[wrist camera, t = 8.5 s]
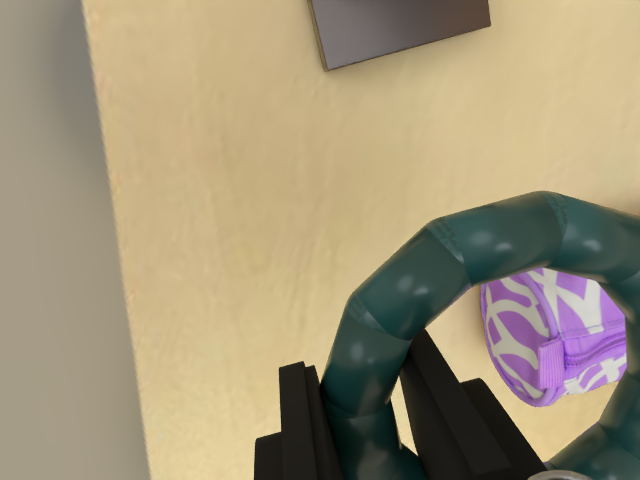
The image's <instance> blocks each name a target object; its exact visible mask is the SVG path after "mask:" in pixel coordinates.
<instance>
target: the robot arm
mask: <svg viewBox="0 0 640 480" xmlns="http://www.w3.org/2000/svg"><path fill="white" fill-rule="evenodd" d="M399 377H400V381H401V386H402V390H403V395H404V399H405V404H406V409H407V413H408V418H409V422H410V427H411V431H412V436H413V440H414V444H415V447H416V451H417V454H418V456H419V458H420V460H421V462H422V464H423V467H424V470H425V473H426V476H427V479H428V480H594V479H592V478H590V477H589V476H586V475H583V474H579V473H576V472H573V471H565V470H551V471H548V469H547V468H546V467H545V465H544V464H543V462H542V461H541V460H540V458H539V457H538V456H537V454H536V453H535V451H534V450H533V449H532V447H531V446H530V444H529V443H528V442H527V440H526V439H525V437H524V436H523V435H522V433H521V432H520V430H519V429H518V428H517V426H516V425H515V424H514V422H513V421H512V419H511V418H510V417H509V415H508V414H507V412H506V411H505V410H504V408H503V407H502V405H501V404H500V403H499V401H498V400H497V399H496V397H495V396H494V394H493V393H492V392H491V390H490V389H489V387H488V386H487V385H486V383H485V382H484V381H483V380H482V379H480V378H476V379H473V380H469V381H465V382H462V383H459V381H458V380H457V378H456V376H455V375H454V373H453V372H452V370H451V369H450V367H449V365H448V364H447V362H446V361H445V359H444V358H443V356H442V354H441V353H440V351H439V350H438V348H437V347H436V345H435V343H434V342H433V340H432V339H431V337H430V335H429V334H428V332H427V331H426V330H425V329H423V330H422V331H421V332H420V333H419V334H418V335H417V336H415V337H414V338H413V339H412V342H411V344H410V347H409V350H408V352H407V355H406V358H405V360H404V362H403V366H402V368H401V371H400V374H399ZM279 387H280V411H281V432H278V433H275V434H271V435H267V436H263V437H260V438H257V439H256V442H255V461H254V480H345V479H344V476H343V472H342V469H341V465H340V462H339V459H338V455H337V452H336V448H335V445H334V441H333V438H332V434H331V431H330V428H329V424H328V421H327V417H326V414H325V410H324V407H323V403H322V398H321V394H320V388H319V387H320V383H319V379H318V376H317V372H316V369H315V366H314V365H313V366H309V367H305V364H304V362H303V361H302V362H298V363H294V364H290V365H287V366H283V367H280V368H279Z"/></svg>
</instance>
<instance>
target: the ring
mask: <svg viewBox="0 0 640 480" xmlns="http://www.w3.org/2000/svg"><path fill="white" fill-rule="evenodd" d="M539 268H546V269H550V270H554V271H558V272H562V273H566V274H570V275H574V276H578V277H582V278H586V279H590V280H594V281H596V282H597V283H598V284H599V285H600V286H601V288H602V289H603V290H604V291H605V293H606V294H607V295H608V296H609V297H610V299H611V300H612V301H613V302H614V303H615V305H616V306H617V307H618V308H619V309H620V311H621V312H622V313H623V314H624V316H625V337H626V360H627V367H626V369H625V371H624V373H623V375H622V377H621V379H620V381H619V383H618V385H617V387H616V389H615V390H614V392H613V394H612V396H611V398H610V400H609V402H608V404H607V406H606V408H605V410H604V412H603V413H602V415H601V417H600V419H599V421H598V422H596V423H595V424H594V425H593V426H591V427H590V428H589V429H588V430H586V431H585V432H584V433H583V434H581V435H580V436H579V437H578V438H576V439H575V440H574V441H573V442H571V443H570V444H569V445H567V446H566V447H565V448H564V449H562V450H561V451H560V452H559V453H557V454H556V455H555V456H554V457H552V458H551V459H550V460H549V461H547V462H543V464H544V465H545V467H546V468H547V469H548V471H551V470H565V471H573V472H576V473H579V474H583V475H586V476H589V477H590V478H592V479H594V480H640V217H638V216H635V215H632V214H628V213H625V212H621V211H618V210H614V209H611V208H607V207H604V206H600V205H597V204H593V203H590V202H586V201H583V200H579V199H576V198H572V197H569V196H565V195H562V194H558V193H554V192H549V191H536V192H531V193H527V194H523V195H520V196H516V197H512V198H509V199H505V200H502V201H498V202H494V203H491V204H487V205H483V206H480V207H476V208H472V209H469V210H465V211H461V212H458V213H454V214H450V215H447V216H443V217H439V218H436V219H434V220H432V221H430V222H429V223H427V224H426V225H425V226H424V227H423V228H421V229H420V230H419V231H418V232H417V233H416V234H415V235H414V236H413V237H412V238H411V239H410V240H408V241H407V242H406V243H405V244H404V245H403V246H402V247H401V248H400V249H399V250H398V251H397V252H396V253H394V254H393V255H392V256H391V257H390V258H389V259H388V260H387V261H386V262H385V263H384V264H383V265H381V266H380V267H379V268H378V269H377V270H376V271H375V272H374V273H373V274H372V275H371V276H370V277H368V278H367V279H366V280H365V281H364V282H363V283H362V284H361V285H360V286H359V287H358V288H357V289H356V290H355V291H354V292H353V293H352V294H351V295H350V297H349V299H348V301H347V303H346V306H345V309H344V312H343V315H342V318H341V321H340V324H339V327H338V330H337V333H336V336H335V340H334V343H333V346H332V349H331V352H330V355H329V358H328V361H327V364H326V367H325V370H324V373H323V377H322V380H321V383H320V387H319V388H320V394H321V398H322V403H323V407H324V410H325V414H326V417H327V421H328V424H329V428H330V431H331V434H332V438H333V441H334V445H335V448H336V452H337V455H338V459H339V462H340V465H341V469H342V472H343V476H344V479H345V480H428V479H427V476H426V473H425V470H424V467H423V464H422V462H421V460H420V458H419V457H418V456H417V455H416V454H415V453H414V452H412V451H411V450H410V449H409V448H408V447H406V446H405V445H404V444H403V443H402V442H401V440H400V436H399V432H398V428H397V423H396V419H395V415H394V411H393V407H392V403H391V395H392V392H393V390H394V387H395V384H396V382H397V379H398V376H399V374H400V371H401V368H402V366H403V362H404V360H405V358H406V355H407V352H408V350H409V347H410V344H411V342H412V339H413V338H414V337H415V336H417V335H418V334H419V333H420V332H421V331H422V330H423V329H424V328H426V327H427V326H428V325H429V324H430V323H431V322H432V321H433V320H435V319H436V318H437V317H438V316H439V315H440V314H441V313H443V312H444V311H445V310H446V309H447V308H448V307H449V306H450V305H452V304H453V303H454V302H455V301H456V300H457V299H458V298H459V297H461V296H462V295H463V294H464V293H465V292H466V291H467V290H469V289H470V288H471V287H474V286H478V285H482V284H485V283H489V282H492V281H496V280H500V279H503V278H507V277H510V276H514V275H518V274H521V273H525V272H528V271H532V270H536V269H539Z"/></svg>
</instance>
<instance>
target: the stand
mask: <svg viewBox="0 0 640 480" xmlns="http://www.w3.org/2000/svg"><path fill="white" fill-rule="evenodd" d="M307 2H308V6H309V10H310V14H311V18H312V23H313V27H314V31H315V35H316V39H317V43H318V48H319V52H320V56H321V60H322V64H323V68H324V71H329V70H333V69H336V68H340V67H344V66H347V65H351V64H355V63H358V62H362V61H366V60H369V59H373V58H377V57H380V56H384V55H388V54H391V53H395V52H398V51H402V50H406V49H409V48H413V47H417V46H420V45H424V44H428V43H431V42H435V41H439V40H442V39H446V38H450V37H453V36H457V35H460V34H464V33H468V32H471V31H475V30H479V29H482V28H486V27H490V26H491V21H490V13H489V5H488V0H307Z"/></svg>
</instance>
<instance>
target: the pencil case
mask: <svg viewBox="0 0 640 480" xmlns="http://www.w3.org/2000/svg"><path fill="white" fill-rule="evenodd" d="M480 301H481V312H482V317H483V322H484V331H485V339H486V344H487V348H488V351H489V354H490V357H491V359H492V362H493V364H494V366H495V368H496V369H497V371H498V373H499V374H500V376H501V378H502V379H503V380H504V382H505V383H506V384H507V386H508V387H509V388H510V389H511V391H512V392H513V393H514V394H515V395H516V396H517V397H518V398H520V399H521V400H522V401H524V402H525V403H527V404H529V405H531V406H534V407H542V406H549V405H552V404H553V403H554V402H556V401H557V400H558V399H559V398H561V397H562V396H564V395H565V394H567V395H571V394H582V393H586V392H588V391H591V390H593V389H596V388H598V387H600V386H602V385H605V384H608V383H611V382H616V381H620V379H621V377H622V375H623V373H624V371H625V369H626V367H627V360H626V337H625V316H624V314H623V313H622V312H621V311H620V309H619V308H618V307H617V306H616V305H615V303H614V302H613V301H612V300H611V299H610V297H609V296H608V295H607V294H606V293H605V291H604V290H603V289H602V288H601V286H600V285H599V284H598V283H597V282H596V281H594V280H590V279H586V278H582V277H578V276H574V275H570V274H566V273H562V272H558V271H554V270H550V269H546V268H539V269H536V270H532V271H528V272H525V273H521V274H518V275H514V276H510V277H507V278H503V279H500V280H496V281H492V282H489V283H485V284H482V285H481V293H480Z"/></svg>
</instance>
